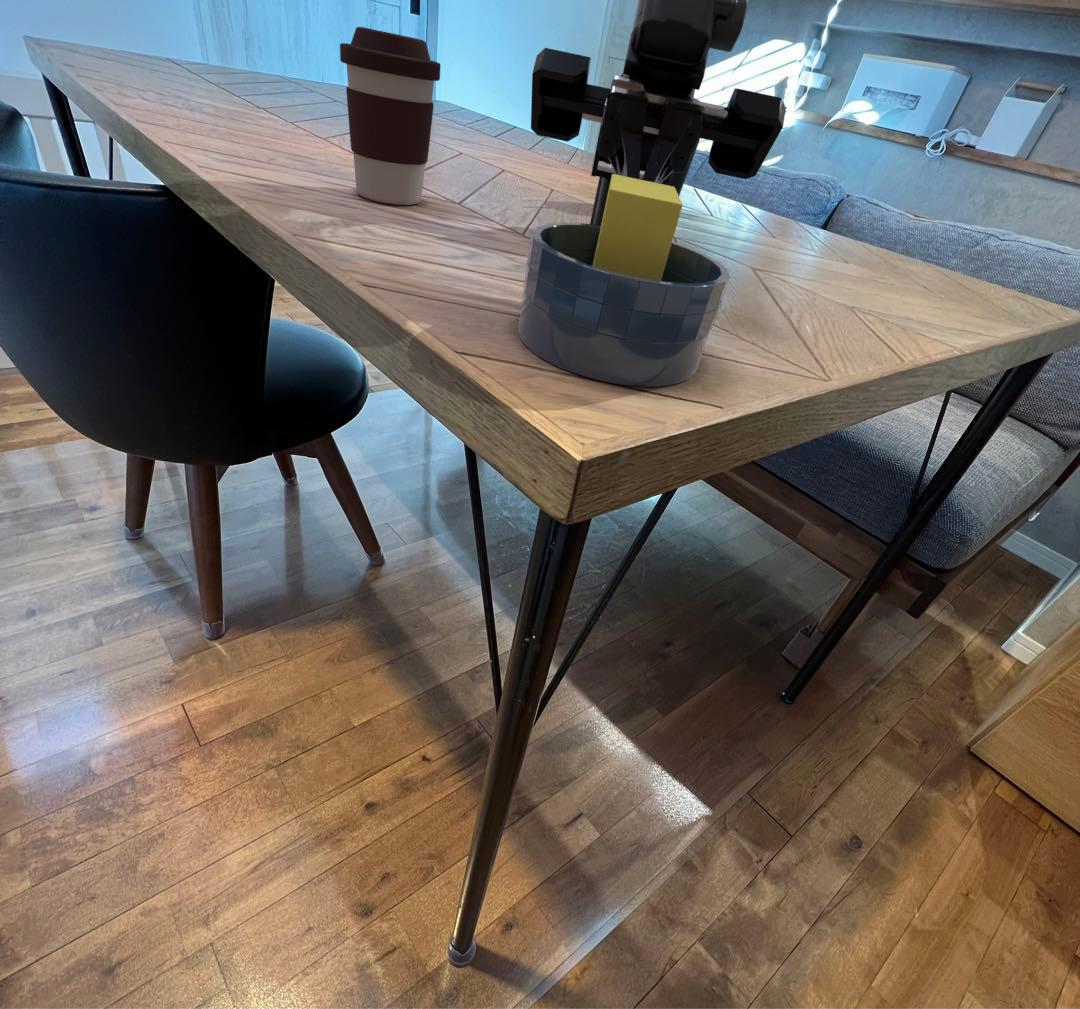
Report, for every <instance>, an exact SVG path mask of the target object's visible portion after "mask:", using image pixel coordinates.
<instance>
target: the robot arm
mask: <svg viewBox="0 0 1080 1009" xmlns="http://www.w3.org/2000/svg"><path fill="white" fill-rule="evenodd" d="M748 6H749V0H638V3H637V7H636V12H635V17H634V20H633V26H632V30H631V32H630V37H629V42H628V46H627V51H626V56H625V61H624V66H623V70H622V73H621V74H620V75H613V76H612V78H611V83H610V84H611V85H610V88H608V87H603V86H599V85H594V84H590V83H589V74H590V67H591V60H592V57H591V56H587V55H582V54H577V53H572V52H568V51H562V50H558V49H553V48H548V47H544V48H543V49H542V50H541V51H540V52H539V53H537V55H536V57H535V61H534V65H533V70H532V75H531V109H530V130H531V131H532V132H534V134H535V135H536V136H539V137H544V138H549V139H553V140H556V141H557V140H558V141H563V142H567V143H568V142H570V141H571V140H573V139H575V138H577V137H578V136H580V131H581V126H582V122H583V121H582V120H586V121H591V122H596V123H599V124H600V127H599V132H598V137H597V142H596V147H595V153H594V157H593V163H592V169H591V173H590V176H591V177H593V178H596V177H598V183H597V188H596V193H595V197H594V202H593V207H592V208H593V209H592V212H591V216H590V222H589V224H594V225H601V223H602V219H603V214H604V209H605V205H606V200H607V195H608V190H609V186H610V181H611V176H612V174H616V175H620V176H625V177H630V178H635V179H639V180H644V181H649V182H654V183H658V184H663V185H668V186H670V185H671V182H672V178H673V175H674V172H676V173H681V172H683V171H685V170H686V167H687V165H688V162H689V160H690V157H691V155H692V152H693V150H694V147H695V145H696V142H697V140H698V138H700V139H702V140H707V141H712V144H711V147H710V149H709V154H708V161H707V164H708V165H709V166H710V168H711V169H712V170H713V171H714V173H715V174H719V175H723V176H728V177H732V178H733V177H734V178H737V179H742V180H748V179H751V178H754V177H756V176H757V174H758V172H759V170H760V169H761V167H762V165H763V164H764V161H765V160H766V158H767V156H768V154H769V153H770V151H771V149H772V148H773V146H774V144H775V142H776V140H777V139H778V137H779V135H780V133H781V132H782V130H783V128H784V122H785V116H786V112H787V111H786V110H787V108H786V104H785V102H784V99H783V97H779V96H775V95H771V94H765V93H760V92H756V91H751V90H747V89H742V88H737V87H735V88H734V89H733V92H732V93H731V95H730V99H729V101H728V103H727V105H726V106H723V105H719V104H714V103H710V102H709V103H708V102H704V101H701V102H700V100H699V101H695V100H693V98H695V92H696V90H697V91H699V90H700V88H701V86H702V83H703V80H704V77H705V73H706V69H707V63H708V56H709V51H710V49H713V50H717V51H722V52H727V53H731V52H732V51H733V50H734V47H735V45H736V44H737V42H738V40H739V38H740V36H741V33H742V30H743V27H744V23H745V18H746V15H747V10H748ZM600 162H602V163H604V164H606V165H610V166H611V167H609V166H604V165H600V164H599V163H600ZM641 172H643V173H642V174H641Z"/></svg>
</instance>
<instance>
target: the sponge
mask: <svg viewBox="0 0 1080 1009" xmlns="http://www.w3.org/2000/svg"><path fill="white" fill-rule="evenodd" d="M682 208H683V203H682V201H681V198H680V195H679V196H678V193H677V191H676V189H675V187H673V186H668V185H663V184H658V183H654V182H649V181H644V180H639V179H635V178H630V177H625V176H620V175H616V174H612V176H611V181H610V186H609V190H608V195H607V200H606V205H605V209H604V214H603V219H602V223H601V228H600V233H599V237H598V242H597V247H596V251H595V256H594V261H593V265H592V266H595V267H598V268H601V269H605V270H608V271H611V272H615V273H620V274H624V275H629V276H633V277H637V278H643V279H650V280H656V281H661V279H662V275H663V272H664V268H665V265H666V261H667V258H668V254H669V251H670V247H671V244H672V242H673V239H674V236H675V233H676V229H677V226H678V223H679V218H680V215H681V212H682Z"/></svg>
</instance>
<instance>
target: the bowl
mask: <svg viewBox="0 0 1080 1009" xmlns="http://www.w3.org/2000/svg"><path fill="white" fill-rule="evenodd" d="M600 228H601V225H594V224H590V223H583V222H555V223H546V224H542V225H539V226H536V227H535V228H534V229H533V231H531V234H530V239H529V247H528V253H527V261H526V267H525V273H524V280H523V292H522V297H521V298H522V299H521V305H520V306H521V307H520V312H519V319H518V326H517V333H518V336H519V339H520V340H521V342H522V343H523V344H524V345H525V346H526V348H527V349H528V350H530V352H532V353H533V354H535V356H538V357H539V358H541V359H542V360H544V361H546V362H547V363H549V364H551V365H553V366H555V367H557V368H560V369H562V370H565V371H567V372H570V373H572V374H575V375H578V376H581V377H585V378H588V379H591V380H595V381H599V382H604V383H609V384H613V385H620V386H629V387H641V388H642V387H643V388H652V387H653V388H655V387H656V388H658V387H666V386H673V385H678V384H680V383H683V382H685V381H688V380H690V379H691V378H692V377H693V376H694V375H695V374H696V372H697V370H698V367H699V365H700V361H701V360H702V356H703V353H704V351H705V347H706V344H707V342H708V339H709V335H710V333H711V331H712V329H713V327H714V325H715V322H716V319H717V316H718V314H719V311H720V308H721V304H722V302H723V299H724V297H725V293H726V292H727V291H726V290H727V287H728V286H729V282H730V279H731V275H730V272H729V270H728V269H727V268H726V267H725V266H724V265H723V264H721V263H720V262H719V261H718V260H716V259H714V258H712V257H710V256H709V255H707V254H705V253H703V252H701V251H699V250H696V249H694V248H692V247H689V246H686V245H684V244H681V243H678V242H675V241H672V244H671V247H670V251H669V254H668V258H667V261H666V265H665V268H664V272H663V275H662V279H661V281H656V280H650V279H643V278H637V277H633V276H629V275H624V274H620V273H615V272H611V271H608V270H605V269H601V268H598V267H595V266H592V265H593V261H594V256H595V251H596V247H597V242H598V237H599V233H600Z"/></svg>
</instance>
